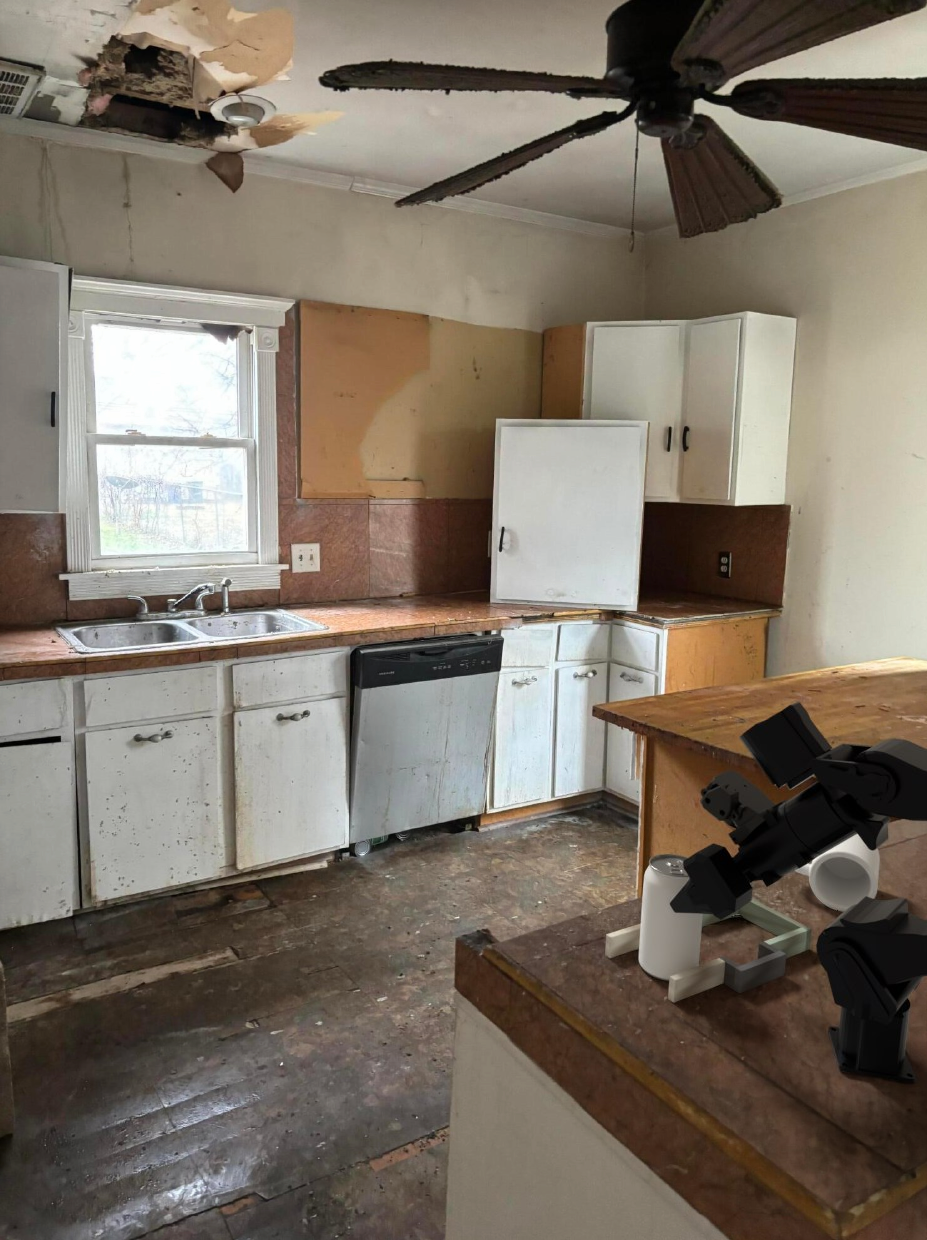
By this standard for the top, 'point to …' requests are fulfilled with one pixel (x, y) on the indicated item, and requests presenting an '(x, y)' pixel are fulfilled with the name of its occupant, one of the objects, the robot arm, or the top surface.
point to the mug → (844, 874)
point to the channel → (724, 970)
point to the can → (667, 921)
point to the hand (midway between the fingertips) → (695, 894)
